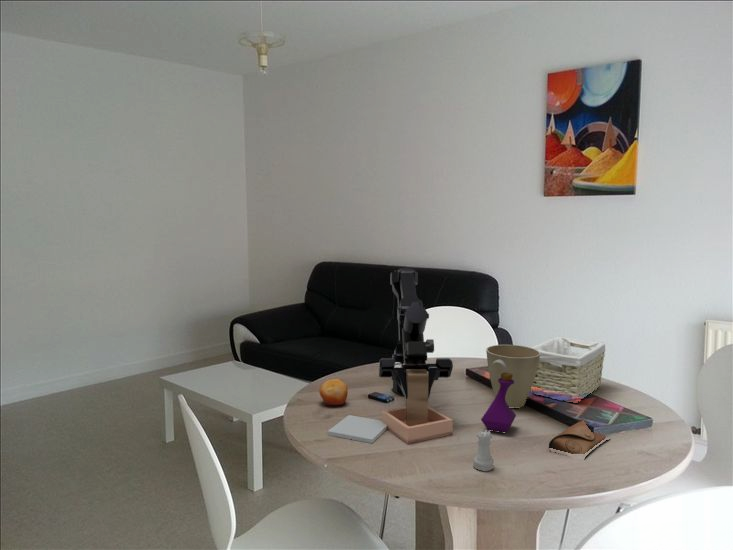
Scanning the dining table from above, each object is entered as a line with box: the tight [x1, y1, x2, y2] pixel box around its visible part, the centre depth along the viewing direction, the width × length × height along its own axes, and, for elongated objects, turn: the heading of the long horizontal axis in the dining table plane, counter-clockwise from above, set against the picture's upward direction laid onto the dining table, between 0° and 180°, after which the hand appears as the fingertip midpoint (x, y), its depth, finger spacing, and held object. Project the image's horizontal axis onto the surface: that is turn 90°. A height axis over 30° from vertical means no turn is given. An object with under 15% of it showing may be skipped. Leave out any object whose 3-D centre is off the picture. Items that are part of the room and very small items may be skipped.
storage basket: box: [531, 336, 606, 397], centre depth 169 cm, size 24×16×15 cm
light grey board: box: [327, 414, 388, 444], centre depth 138 cm, size 12×12×1 cm
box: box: [381, 405, 454, 445], centre depth 138 cm, size 13×13×4 cm
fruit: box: [318, 378, 348, 406], centre depth 157 cm, size 8×8×8 cm
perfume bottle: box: [480, 360, 517, 433], centre depth 138 cm, size 8×8×18 cm
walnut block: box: [405, 369, 429, 426], centre depth 137 cm, size 5×5×13 cm
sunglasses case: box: [548, 418, 607, 454], centre depth 130 cm, size 18×7×7 cm, turn 138°
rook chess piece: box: [472, 429, 495, 472], centre depth 118 cm, size 4×4×8 cm
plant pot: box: [485, 344, 540, 408], centre depth 157 cm, size 15×15×16 cm
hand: (417, 398), depth 136 cm, fingers closed on walnut block, 5 cm apart
